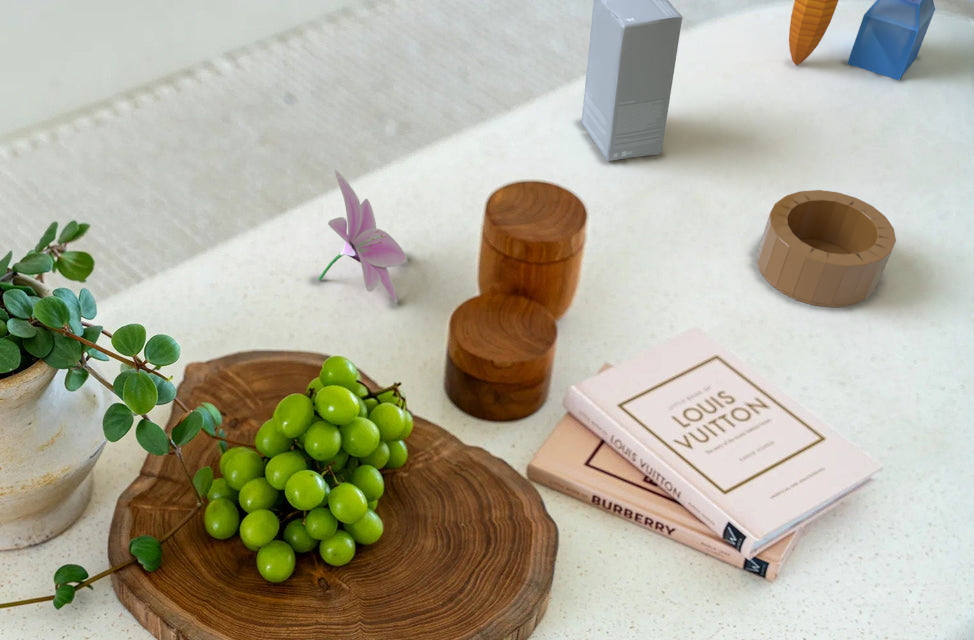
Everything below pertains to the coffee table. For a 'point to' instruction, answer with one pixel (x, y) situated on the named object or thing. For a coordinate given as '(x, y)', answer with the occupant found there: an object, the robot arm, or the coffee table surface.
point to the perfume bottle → (891, 36)
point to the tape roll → (825, 248)
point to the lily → (366, 241)
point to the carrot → (808, 26)
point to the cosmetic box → (630, 75)
